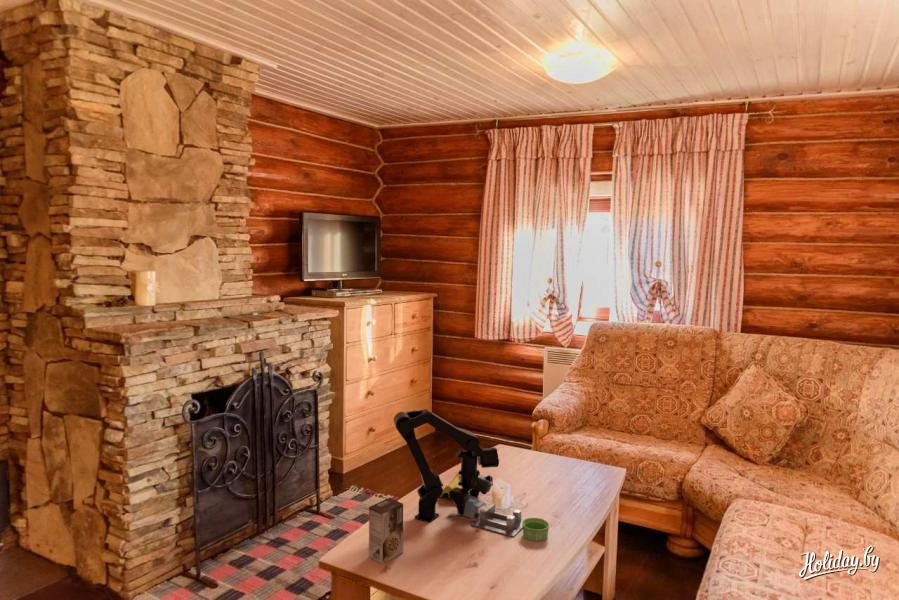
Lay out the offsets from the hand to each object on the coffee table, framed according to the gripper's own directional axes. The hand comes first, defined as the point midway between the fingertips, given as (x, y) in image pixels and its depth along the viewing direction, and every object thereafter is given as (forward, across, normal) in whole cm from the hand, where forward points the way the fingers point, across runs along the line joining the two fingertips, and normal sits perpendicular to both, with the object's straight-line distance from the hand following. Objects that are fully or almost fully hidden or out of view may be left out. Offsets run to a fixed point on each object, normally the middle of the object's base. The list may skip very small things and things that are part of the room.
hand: (467, 510), depth 219 cm
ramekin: (+2, -2, -27) cm, 27 cm away
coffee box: (+2, -39, +8) cm, 40 cm away
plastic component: (+2, +16, +11) cm, 19 cm away
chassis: (+1, 0, -13) cm, 13 cm away
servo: (+1, 0, 0) cm, 1 cm away
